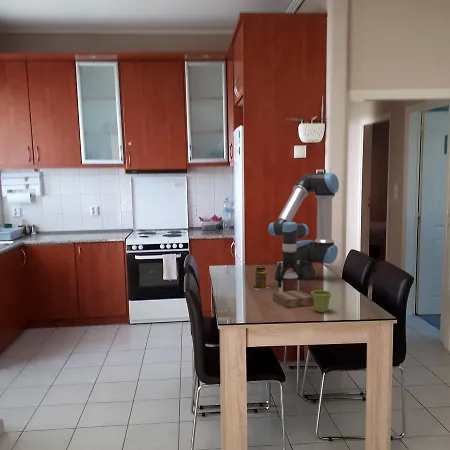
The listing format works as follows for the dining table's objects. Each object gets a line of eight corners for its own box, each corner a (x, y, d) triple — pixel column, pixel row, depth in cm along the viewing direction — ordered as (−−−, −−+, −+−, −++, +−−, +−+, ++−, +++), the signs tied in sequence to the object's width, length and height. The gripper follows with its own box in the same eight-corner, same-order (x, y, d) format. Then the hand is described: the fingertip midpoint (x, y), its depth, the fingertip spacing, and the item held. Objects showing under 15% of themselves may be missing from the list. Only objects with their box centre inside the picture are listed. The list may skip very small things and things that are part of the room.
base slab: (298, 297, 240) (298, 289, 240) (313, 304, 226) (313, 296, 226) (272, 300, 235) (272, 292, 235) (286, 308, 221) (286, 300, 221)
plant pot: (308, 308, 221) (309, 290, 220) (327, 307, 222) (328, 289, 221) (314, 313, 212) (314, 295, 211) (334, 313, 213) (334, 294, 212)
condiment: (269, 287, 261) (269, 267, 259) (257, 290, 256) (257, 269, 255) (261, 285, 267) (261, 265, 265) (249, 287, 262) (249, 266, 261)
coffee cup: (284, 296, 241) (284, 274, 240) (278, 292, 250) (278, 271, 249) (300, 295, 244) (300, 273, 242) (293, 291, 252) (293, 269, 251)
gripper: (303, 248, 251) (303, 288, 254) (267, 251, 244) (267, 292, 246) (311, 250, 244) (310, 291, 247) (274, 253, 237) (274, 296, 239)
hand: (289, 292), depth 247 cm, fingers closed on coffee cup, 9 cm apart
